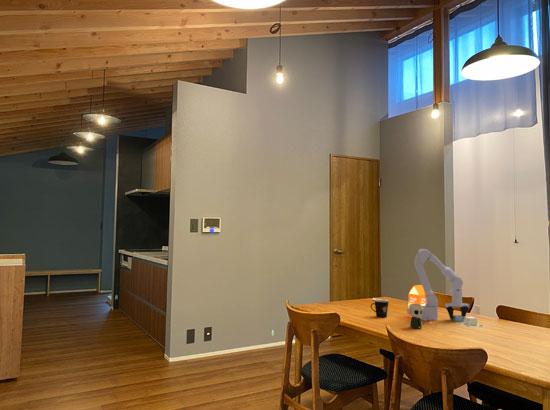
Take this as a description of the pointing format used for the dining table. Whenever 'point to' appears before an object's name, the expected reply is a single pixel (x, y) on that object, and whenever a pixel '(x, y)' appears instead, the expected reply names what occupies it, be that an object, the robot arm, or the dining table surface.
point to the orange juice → (417, 296)
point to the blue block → (457, 318)
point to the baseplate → (469, 325)
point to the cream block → (470, 321)
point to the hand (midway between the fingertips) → (457, 319)
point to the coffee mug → (381, 308)
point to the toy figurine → (415, 315)
